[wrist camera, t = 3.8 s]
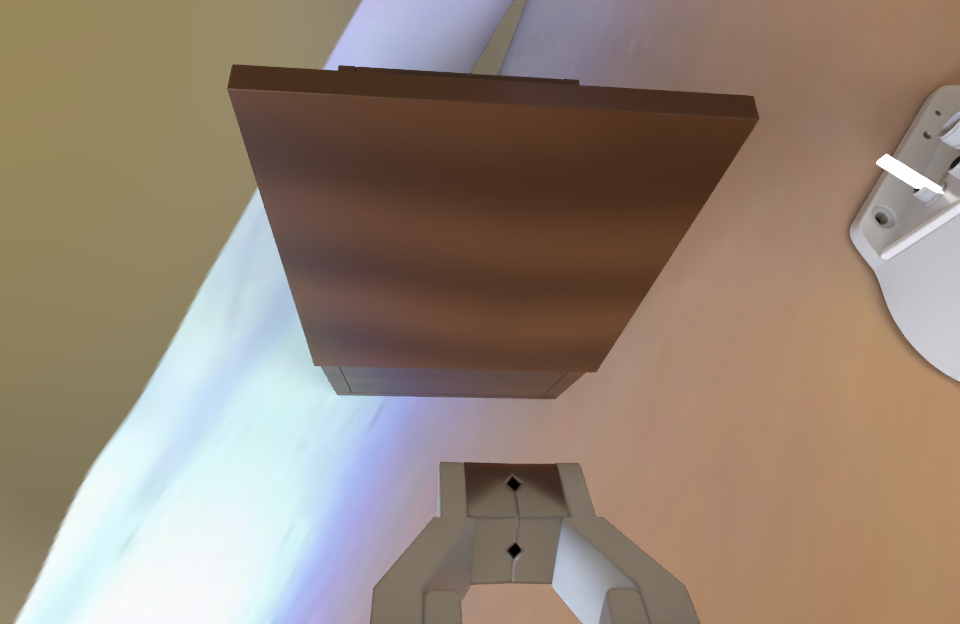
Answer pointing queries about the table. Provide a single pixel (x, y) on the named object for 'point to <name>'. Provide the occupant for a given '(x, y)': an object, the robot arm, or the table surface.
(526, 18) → the table surface
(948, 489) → the table surface
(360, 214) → the lid
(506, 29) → the fork
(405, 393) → the box
